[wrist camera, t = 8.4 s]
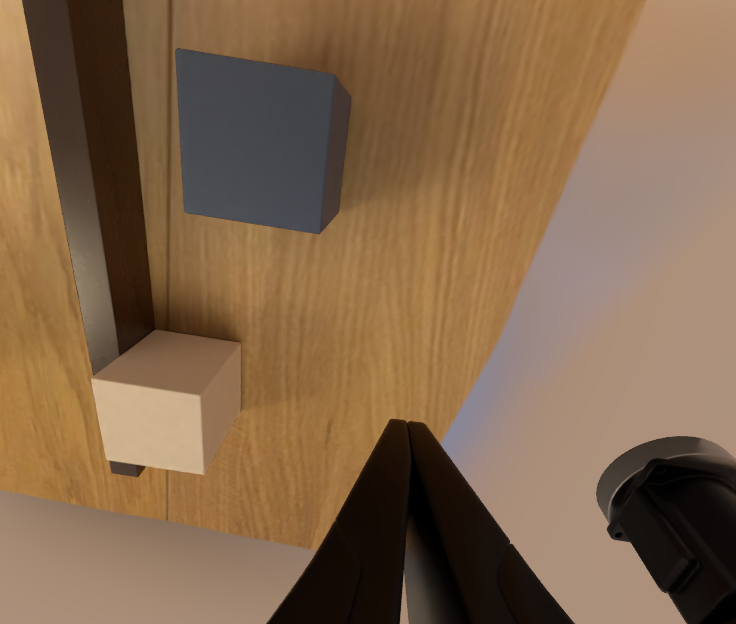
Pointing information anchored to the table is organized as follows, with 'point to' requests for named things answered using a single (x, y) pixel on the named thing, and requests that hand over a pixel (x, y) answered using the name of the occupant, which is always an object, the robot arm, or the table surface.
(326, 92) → the slate block
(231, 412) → the cream block
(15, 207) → the table surface
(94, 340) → the straightedge
